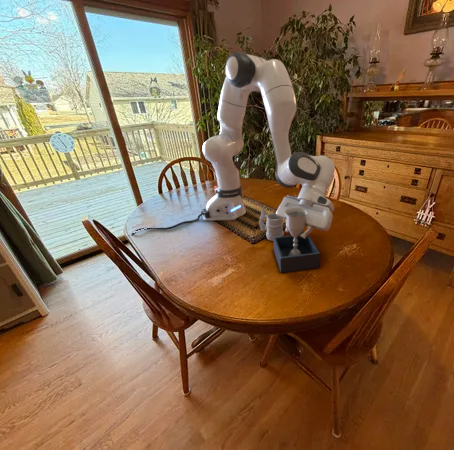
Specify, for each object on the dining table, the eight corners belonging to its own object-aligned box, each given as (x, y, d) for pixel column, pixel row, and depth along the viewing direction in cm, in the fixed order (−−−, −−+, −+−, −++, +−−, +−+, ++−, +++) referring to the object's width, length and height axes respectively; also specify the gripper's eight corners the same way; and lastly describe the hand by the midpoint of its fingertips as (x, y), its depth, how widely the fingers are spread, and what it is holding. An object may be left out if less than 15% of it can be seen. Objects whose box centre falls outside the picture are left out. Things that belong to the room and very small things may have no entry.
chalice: (306, 252, 88) (309, 208, 80) (303, 263, 83) (305, 217, 74) (287, 249, 91) (288, 206, 82) (283, 259, 85) (282, 215, 76)
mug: (277, 243, 96) (276, 217, 91) (254, 235, 103) (253, 210, 97) (287, 235, 102) (287, 210, 96) (265, 228, 108) (264, 204, 102)
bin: (280, 272, 80) (280, 258, 78) (273, 250, 92) (273, 237, 89) (319, 267, 82) (320, 253, 79) (307, 246, 94) (308, 233, 91)
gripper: (282, 190, 87) (267, 224, 85) (334, 201, 76) (318, 241, 74) (288, 197, 92) (274, 229, 90) (338, 209, 81) (324, 246, 79)
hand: (294, 235), depth 82 cm, fingers closed on chalice, 5 cm apart
